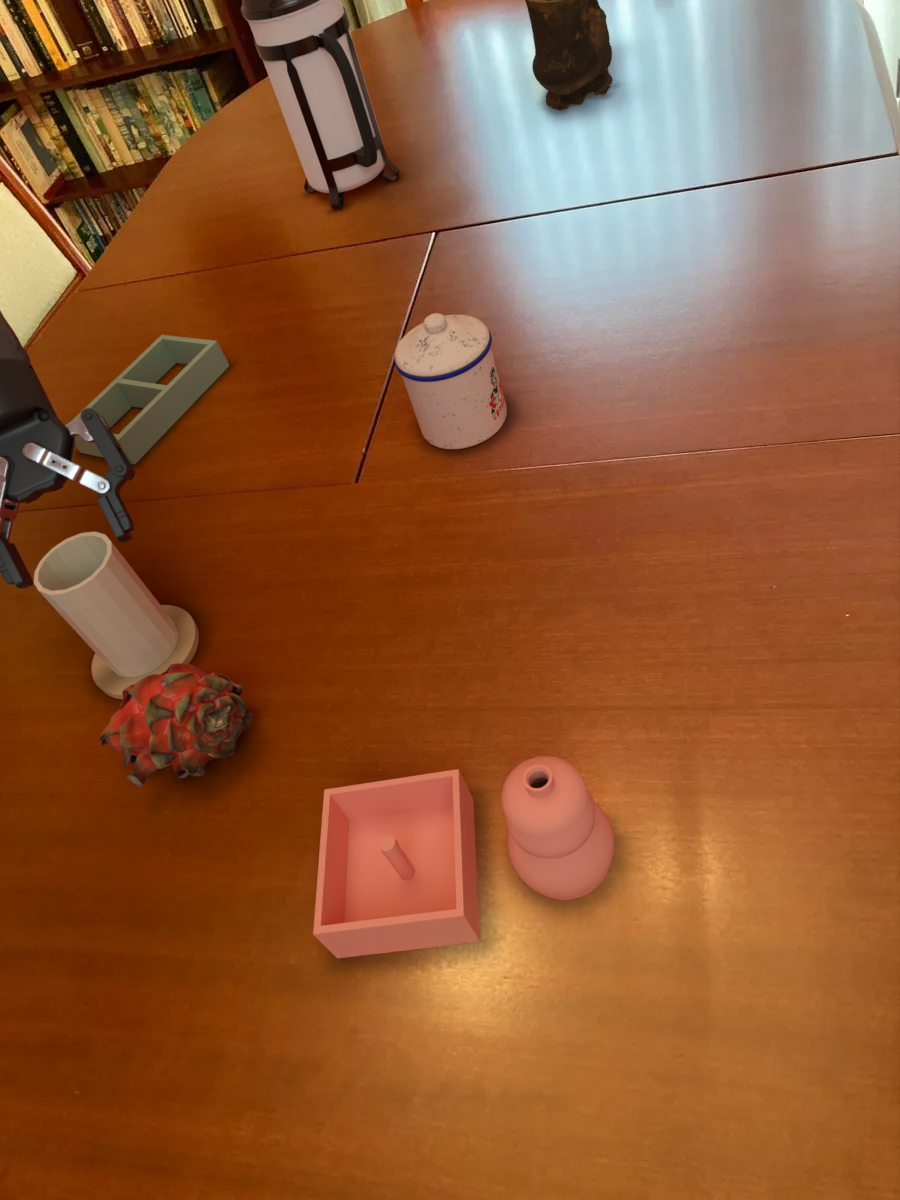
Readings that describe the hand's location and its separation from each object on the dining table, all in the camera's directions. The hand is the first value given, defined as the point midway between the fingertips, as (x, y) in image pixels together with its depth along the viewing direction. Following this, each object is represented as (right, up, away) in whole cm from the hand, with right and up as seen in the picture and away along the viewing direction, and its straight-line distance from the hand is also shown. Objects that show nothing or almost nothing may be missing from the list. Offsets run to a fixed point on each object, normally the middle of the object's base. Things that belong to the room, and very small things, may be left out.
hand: (76, 563), depth 70 cm
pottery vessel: (+49, +72, +60) cm, 106 cm away
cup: (+3, -7, +6) cm, 10 cm away
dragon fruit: (+10, -15, -2) cm, 18 cm away
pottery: (+31, -20, -14) cm, 40 cm away
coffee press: (+17, +57, +58) cm, 83 cm away
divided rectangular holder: (-4, +19, +32) cm, 38 cm away
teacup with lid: (+31, +15, +17) cm, 39 cm away
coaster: (+4, -8, +6) cm, 10 cm away
